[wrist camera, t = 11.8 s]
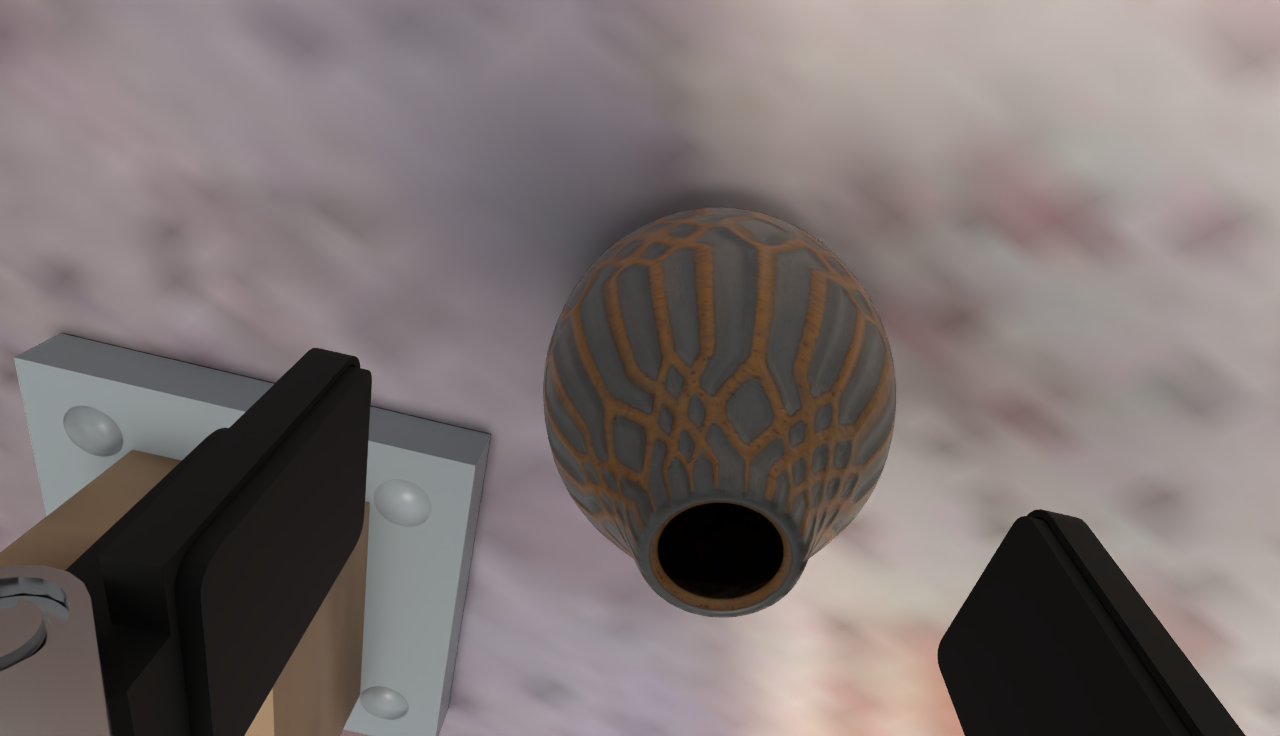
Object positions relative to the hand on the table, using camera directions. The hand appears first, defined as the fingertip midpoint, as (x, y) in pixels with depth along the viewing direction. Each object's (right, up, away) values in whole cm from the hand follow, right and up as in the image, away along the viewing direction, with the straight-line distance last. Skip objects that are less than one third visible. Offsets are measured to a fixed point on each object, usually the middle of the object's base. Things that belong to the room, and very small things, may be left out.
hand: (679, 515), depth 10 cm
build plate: (-12, -3, +12) cm, 17 cm away
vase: (+1, +4, +8) cm, 9 cm away
